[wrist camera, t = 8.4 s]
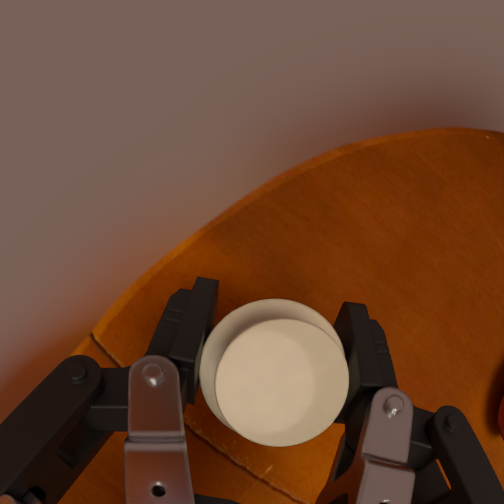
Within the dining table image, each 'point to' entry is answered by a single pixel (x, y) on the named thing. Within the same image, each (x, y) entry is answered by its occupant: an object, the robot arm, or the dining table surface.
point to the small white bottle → (274, 372)
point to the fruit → (501, 417)
